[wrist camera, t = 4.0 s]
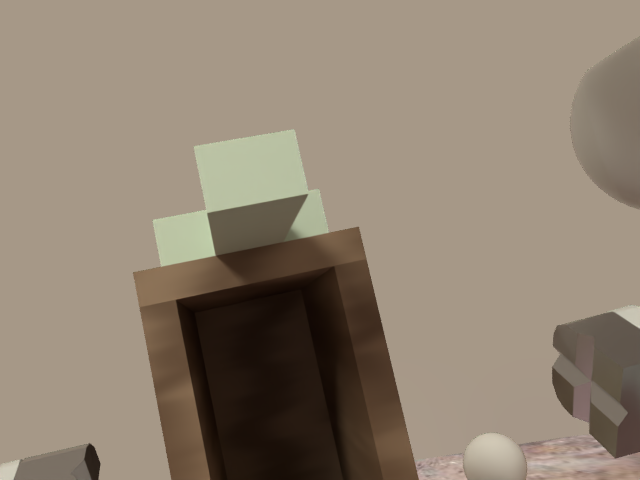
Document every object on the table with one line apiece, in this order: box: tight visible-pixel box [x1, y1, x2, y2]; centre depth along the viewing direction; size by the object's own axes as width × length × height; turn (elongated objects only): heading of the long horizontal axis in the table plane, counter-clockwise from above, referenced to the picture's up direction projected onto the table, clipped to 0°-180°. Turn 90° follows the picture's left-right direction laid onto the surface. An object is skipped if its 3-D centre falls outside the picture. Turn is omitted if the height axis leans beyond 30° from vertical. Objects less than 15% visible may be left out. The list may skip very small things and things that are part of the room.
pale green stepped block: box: [152, 130, 329, 267], centre depth 27 cm, size 8×19×2 cm, turn 9°
